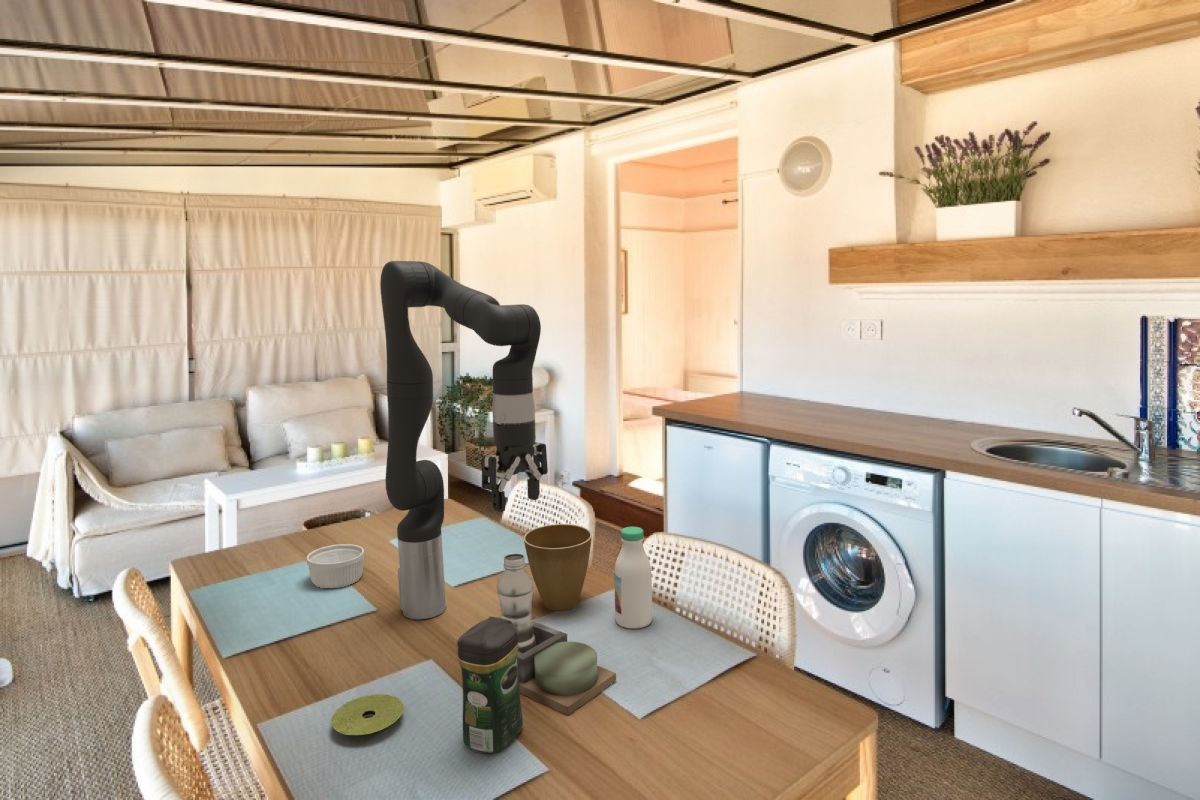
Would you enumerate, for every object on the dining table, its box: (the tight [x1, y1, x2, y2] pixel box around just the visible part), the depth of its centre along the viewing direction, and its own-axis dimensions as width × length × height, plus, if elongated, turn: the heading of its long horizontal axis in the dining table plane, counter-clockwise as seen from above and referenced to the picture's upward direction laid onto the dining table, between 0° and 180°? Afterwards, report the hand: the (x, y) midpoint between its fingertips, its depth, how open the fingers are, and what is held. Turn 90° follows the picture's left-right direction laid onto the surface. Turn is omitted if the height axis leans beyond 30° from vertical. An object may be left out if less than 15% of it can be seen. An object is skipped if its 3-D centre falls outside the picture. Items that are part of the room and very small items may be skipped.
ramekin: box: [306, 543, 365, 589], centre depth 175 cm, size 13×13×7 cm
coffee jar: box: [457, 616, 524, 754], centre depth 111 cm, size 10×8×19 cm
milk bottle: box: [614, 526, 653, 630], centre depth 149 cm, size 8×8×20 cm
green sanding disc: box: [330, 693, 405, 736], centre depth 117 cm, size 11×11×2 cm
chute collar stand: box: [517, 620, 617, 716], centre depth 130 cm, size 24×13×6 cm, turn 51°
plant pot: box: [523, 523, 593, 612], centre depth 158 cm, size 15×15×16 cm
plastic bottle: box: [496, 553, 536, 653], centre depth 131 cm, size 6×7×20 cm
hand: (516, 504), depth 131 cm, fingers open, 8 cm apart
